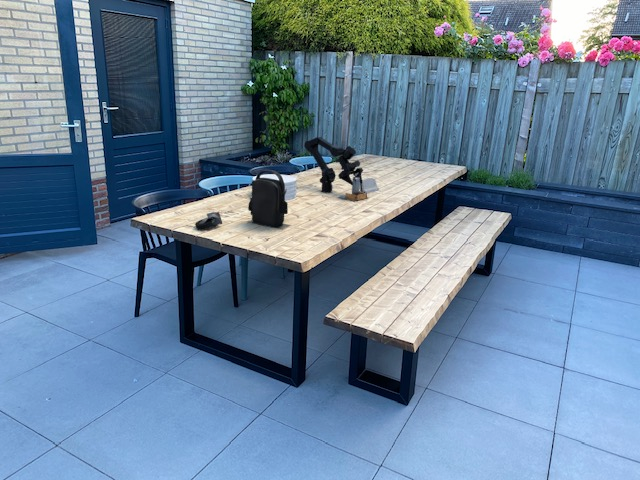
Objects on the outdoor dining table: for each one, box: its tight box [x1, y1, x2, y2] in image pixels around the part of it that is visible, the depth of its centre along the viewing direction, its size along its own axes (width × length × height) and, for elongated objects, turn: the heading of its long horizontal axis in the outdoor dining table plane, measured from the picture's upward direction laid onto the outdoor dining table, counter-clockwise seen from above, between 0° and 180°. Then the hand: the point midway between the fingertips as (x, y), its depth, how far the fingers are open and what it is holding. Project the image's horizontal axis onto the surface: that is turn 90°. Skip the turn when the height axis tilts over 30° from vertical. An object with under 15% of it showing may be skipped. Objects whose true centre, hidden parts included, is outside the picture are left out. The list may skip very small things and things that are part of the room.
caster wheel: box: [194, 211, 223, 231], centre depth 238 cm, size 7×11×10 cm
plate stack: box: [251, 173, 298, 202], centre depth 307 cm, size 28×28×12 cm
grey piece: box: [351, 176, 360, 195], centre depth 307 cm, size 5×5×13 cm
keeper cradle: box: [338, 191, 369, 202], centre depth 310 cm, size 13×14×4 cm
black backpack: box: [246, 169, 292, 230], centre depth 245 cm, size 23×9×28 cm, turn 60°
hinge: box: [359, 177, 380, 194], centre depth 331 cm, size 17×5×10 cm, turn 140°
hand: (357, 184), depth 306 cm, fingers open, 9 cm apart
